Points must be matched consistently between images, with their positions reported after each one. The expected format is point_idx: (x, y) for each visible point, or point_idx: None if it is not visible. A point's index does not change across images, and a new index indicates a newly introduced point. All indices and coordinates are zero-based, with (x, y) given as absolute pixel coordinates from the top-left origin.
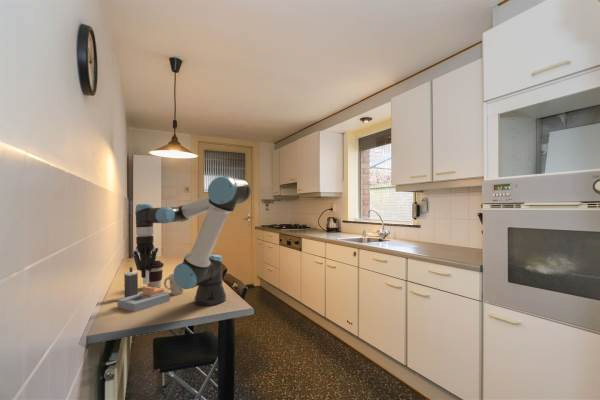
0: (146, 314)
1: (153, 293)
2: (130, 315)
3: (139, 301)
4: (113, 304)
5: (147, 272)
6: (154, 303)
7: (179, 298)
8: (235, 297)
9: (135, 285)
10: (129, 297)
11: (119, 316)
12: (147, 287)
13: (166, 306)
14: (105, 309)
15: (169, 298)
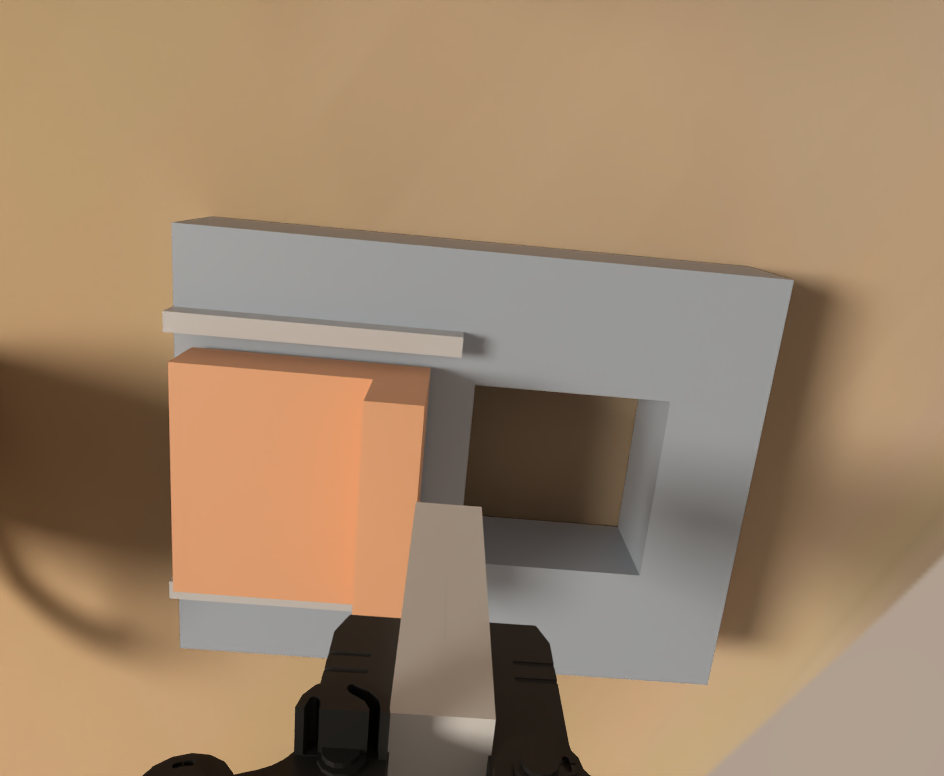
0: (767, 30)
1: (388, 373)
2: (859, 210)
3: (666, 338)
4: (625, 742)
5: (442, 675)
6: (464, 243)
7: (54, 172)
8: None
9: None
10: (577, 631)
11: (923, 309)
12: (404, 531)
13: (409, 43)
14: (782, 669)
15: (202, 219)
